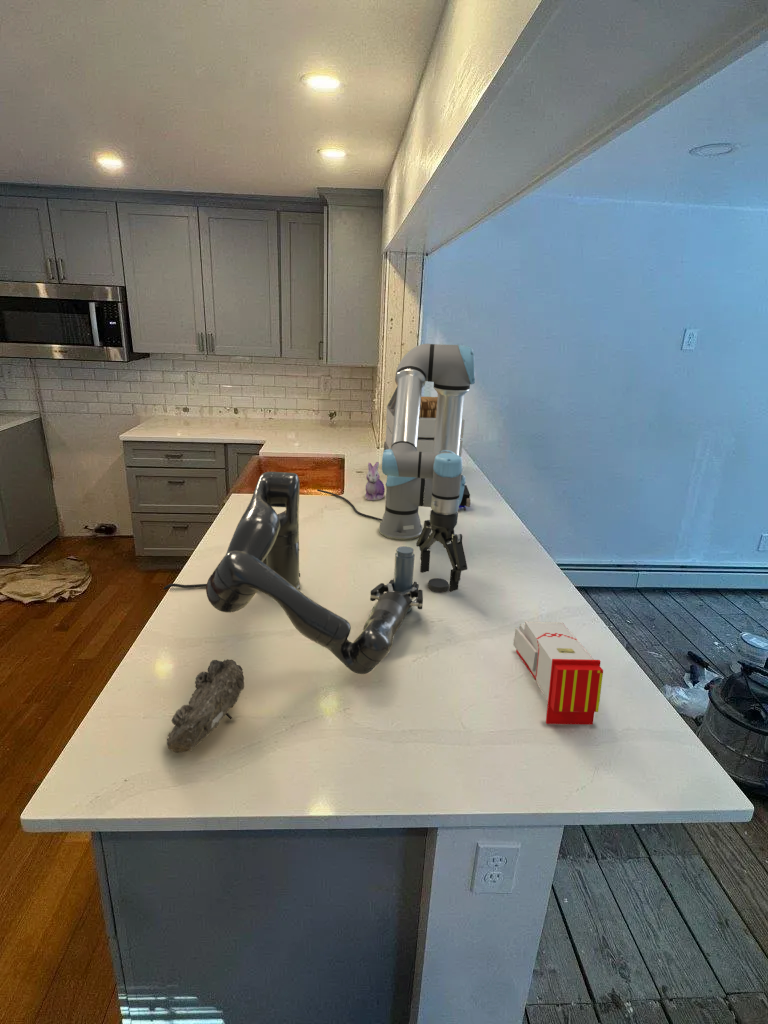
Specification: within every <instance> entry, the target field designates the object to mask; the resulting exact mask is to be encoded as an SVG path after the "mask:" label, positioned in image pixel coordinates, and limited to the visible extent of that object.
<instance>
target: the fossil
mask: <svg viewBox="0 0 768 1024" xmlns="http://www.w3.org/2000/svg"><path fill="white" fill-rule="evenodd" d="M243 670H244V669H243V667H242V665H240V664H237V662H236V661H235V660H234V659H232V658H231V659H227V658H226V659H224V660H223V661H222V660H217V659H212V660H211V661H210V663H209V665H208V666H207V671H201V672H199V673H198V674H197V675H196V676H195V680H194V684H195V685H194V687H195V689H194V690H193V693H192V694H191V697H190V698H189V700H188V704H184V705H182V706H181V707H180V709H177V710H176V711H175V713H174V715H173V716H172V718H171V723H172V724H173V727H172V730H171V731H170V732H168V734H167V738H166V741H167V742H166V745H167V749H168V750H169V751H173V752H174V753H176V754H178V753H182V752H188V751H189V752H192V751H193V750H195V748H196V747H197V746H199V744H200V743H201V742H203V741H204V740H205V739H206V738H207V737H208V736H209V735H210V734H211V733H212V732H214V730H215V729H217V727H218V726H219V724H220V722H221V721H222V720H223V719H224V718H225V716H226V717H227V719H229V720H233V717H232V715H230V714H229V710H230V709H231V708H234V706H235V704H236V703H237V702H238V699H239V697H240V695H241V693H242V691H243V690H245V689H244V688H245V675H244V671H243Z"/></svg>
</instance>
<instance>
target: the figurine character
mask: <svg viewBox="0 0 768 1024" xmlns="http://www.w3.org/2000/svg"><path fill="white" fill-rule="evenodd" d="M466 507H468V508H470V507H471V493H470V491H469V488H468V486H467V485H466V484H465V486H464V492H463V497H462V500H461V503H460V505H459V509H458V511H459V510H460V509H463V511H465V512H466V511H467V508H466Z"/></svg>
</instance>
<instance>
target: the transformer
mask: <svg viewBox="0 0 768 1024" xmlns="http://www.w3.org/2000/svg"><path fill="white" fill-rule="evenodd" d="M397 388H398V386H397V385H396V388H395V390H394V392H393V394H392V395H391V398H390V400H389V402H388V404H387V405H386V413H385V414H386V415H385V423H386V428H385V438H384V442H383V451H384V450H389V449H391V443H392V433H393V424H394V415H395V406H396V397H397ZM437 397H438V396H421V404H420V416H419V428H418V440H417V450H416V451H418V452H433V450H434V437H435V424H436V410H437ZM464 429H465V419H464V418H462V425H461V436H460V447H459V456H460V457H461V458H462V453H463V442H464V441H463V440H462V439H463V438H464V431H465V430H464Z"/></svg>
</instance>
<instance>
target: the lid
mask: <svg viewBox="0 0 768 1024" xmlns="http://www.w3.org/2000/svg"><path fill="white" fill-rule="evenodd" d="M427 588H428V590H429V591H432V592H435V593H444V592H447V591H449V581H448V580H446V579H444V578H441V577H433V578H430V579H429V580H428V582H427Z"/></svg>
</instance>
